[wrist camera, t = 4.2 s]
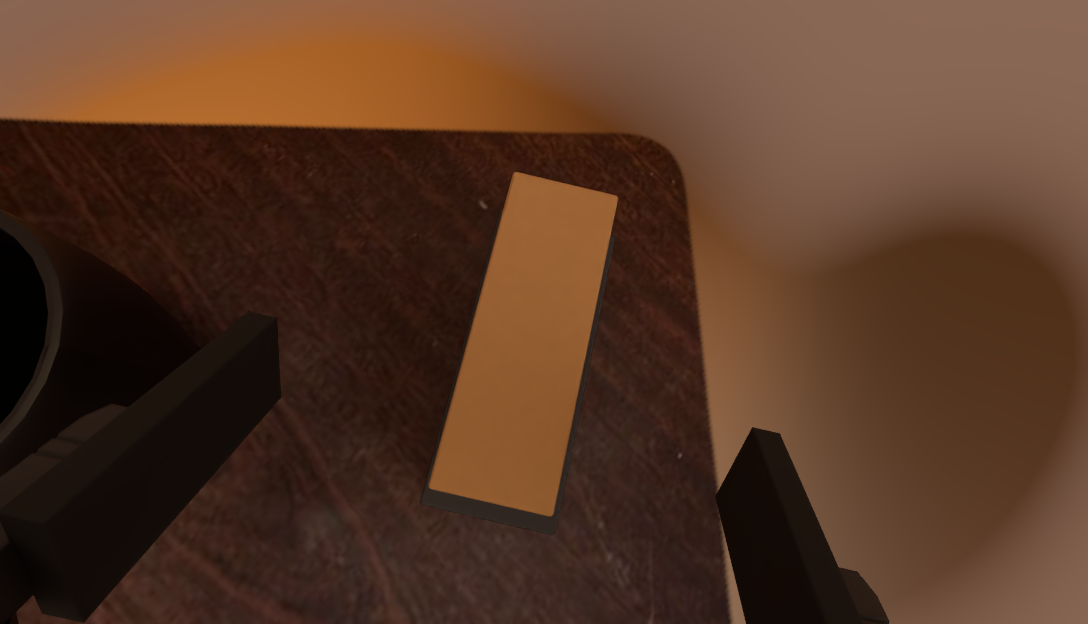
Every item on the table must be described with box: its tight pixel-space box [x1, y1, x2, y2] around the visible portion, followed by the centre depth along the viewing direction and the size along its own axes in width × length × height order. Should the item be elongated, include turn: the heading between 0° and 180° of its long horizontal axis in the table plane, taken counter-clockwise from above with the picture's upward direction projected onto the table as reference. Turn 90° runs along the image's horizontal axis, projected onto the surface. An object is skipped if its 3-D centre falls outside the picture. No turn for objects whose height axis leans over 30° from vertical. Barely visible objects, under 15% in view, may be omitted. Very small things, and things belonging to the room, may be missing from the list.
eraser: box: [420, 172, 618, 535], centre depth 19 cm, size 5×12×8 cm, turn 167°
